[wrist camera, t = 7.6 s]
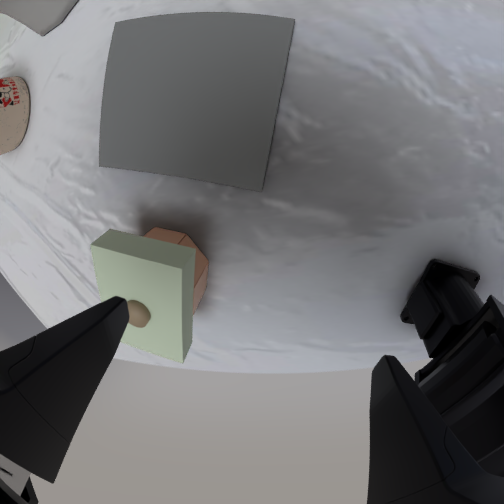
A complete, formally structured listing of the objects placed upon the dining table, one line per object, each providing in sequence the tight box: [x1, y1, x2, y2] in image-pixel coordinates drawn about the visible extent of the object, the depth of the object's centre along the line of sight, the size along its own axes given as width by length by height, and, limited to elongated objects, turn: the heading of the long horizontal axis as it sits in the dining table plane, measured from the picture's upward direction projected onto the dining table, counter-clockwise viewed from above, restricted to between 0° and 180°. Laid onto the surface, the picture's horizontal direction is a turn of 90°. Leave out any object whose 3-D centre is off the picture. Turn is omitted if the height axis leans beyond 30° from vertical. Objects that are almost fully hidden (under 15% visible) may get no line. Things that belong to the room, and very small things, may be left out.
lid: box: [91, 229, 196, 363], centre depth 18 cm, size 7×9×3 cm
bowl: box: [143, 227, 209, 315], centre depth 21 cm, size 7×7×4 cm
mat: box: [99, 12, 295, 192], centre depth 15 cm, size 13×12×1 cm
